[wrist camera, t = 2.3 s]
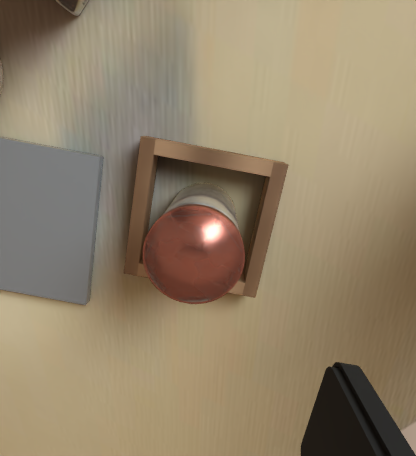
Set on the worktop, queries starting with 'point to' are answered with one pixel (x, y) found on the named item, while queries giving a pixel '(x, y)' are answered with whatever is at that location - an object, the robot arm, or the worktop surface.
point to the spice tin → (195, 246)
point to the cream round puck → (1, 77)
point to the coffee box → (73, 5)
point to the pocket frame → (212, 157)
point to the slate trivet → (48, 220)
